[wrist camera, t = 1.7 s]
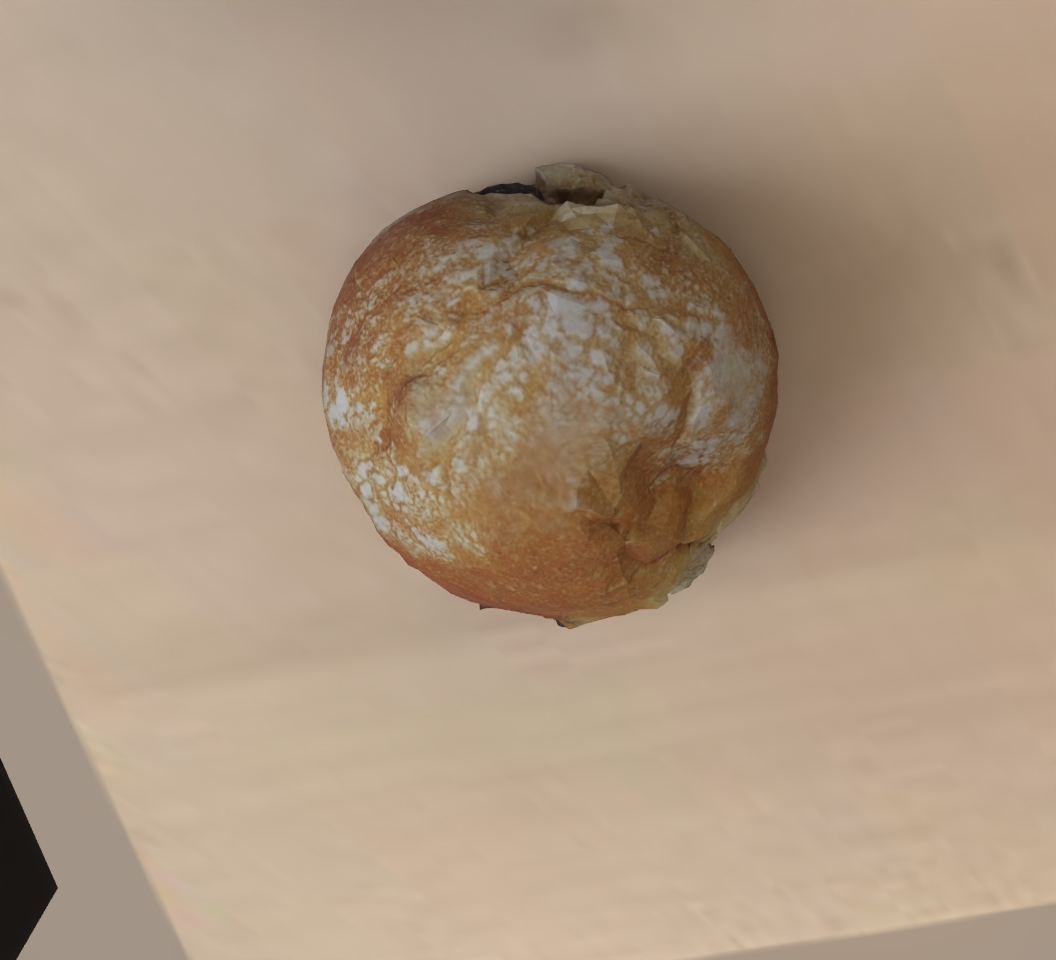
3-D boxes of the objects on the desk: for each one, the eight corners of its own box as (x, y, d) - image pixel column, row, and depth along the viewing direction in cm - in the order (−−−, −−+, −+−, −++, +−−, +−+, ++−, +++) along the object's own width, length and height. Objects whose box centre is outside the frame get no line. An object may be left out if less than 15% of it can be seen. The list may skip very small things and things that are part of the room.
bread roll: (713, 196, 25) (762, 39, 17) (790, 582, 24) (879, 605, 16) (348, 271, 26) (233, 154, 18) (413, 649, 25) (322, 701, 17)
